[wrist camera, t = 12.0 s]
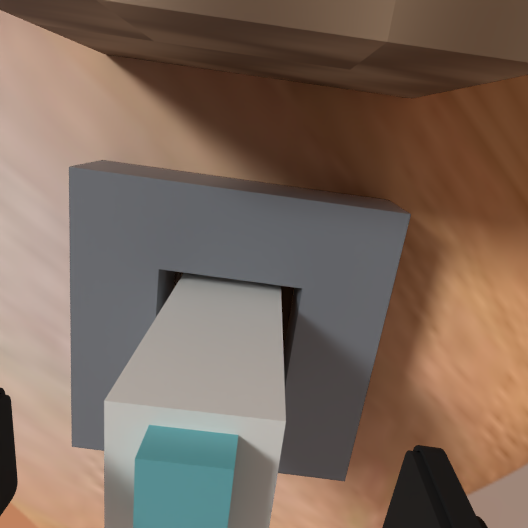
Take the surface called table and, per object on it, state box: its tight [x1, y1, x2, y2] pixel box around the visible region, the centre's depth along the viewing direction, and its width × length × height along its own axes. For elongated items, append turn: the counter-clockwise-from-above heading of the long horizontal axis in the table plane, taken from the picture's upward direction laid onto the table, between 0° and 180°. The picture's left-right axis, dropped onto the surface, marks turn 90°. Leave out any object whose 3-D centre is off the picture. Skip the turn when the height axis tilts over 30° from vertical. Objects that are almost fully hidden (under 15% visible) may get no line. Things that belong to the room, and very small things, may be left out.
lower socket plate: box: [69, 160, 411, 481], centre depth 18 cm, size 12×12×3 cm
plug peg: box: [104, 273, 286, 528], centre depth 14 cm, size 4×4×11 cm
